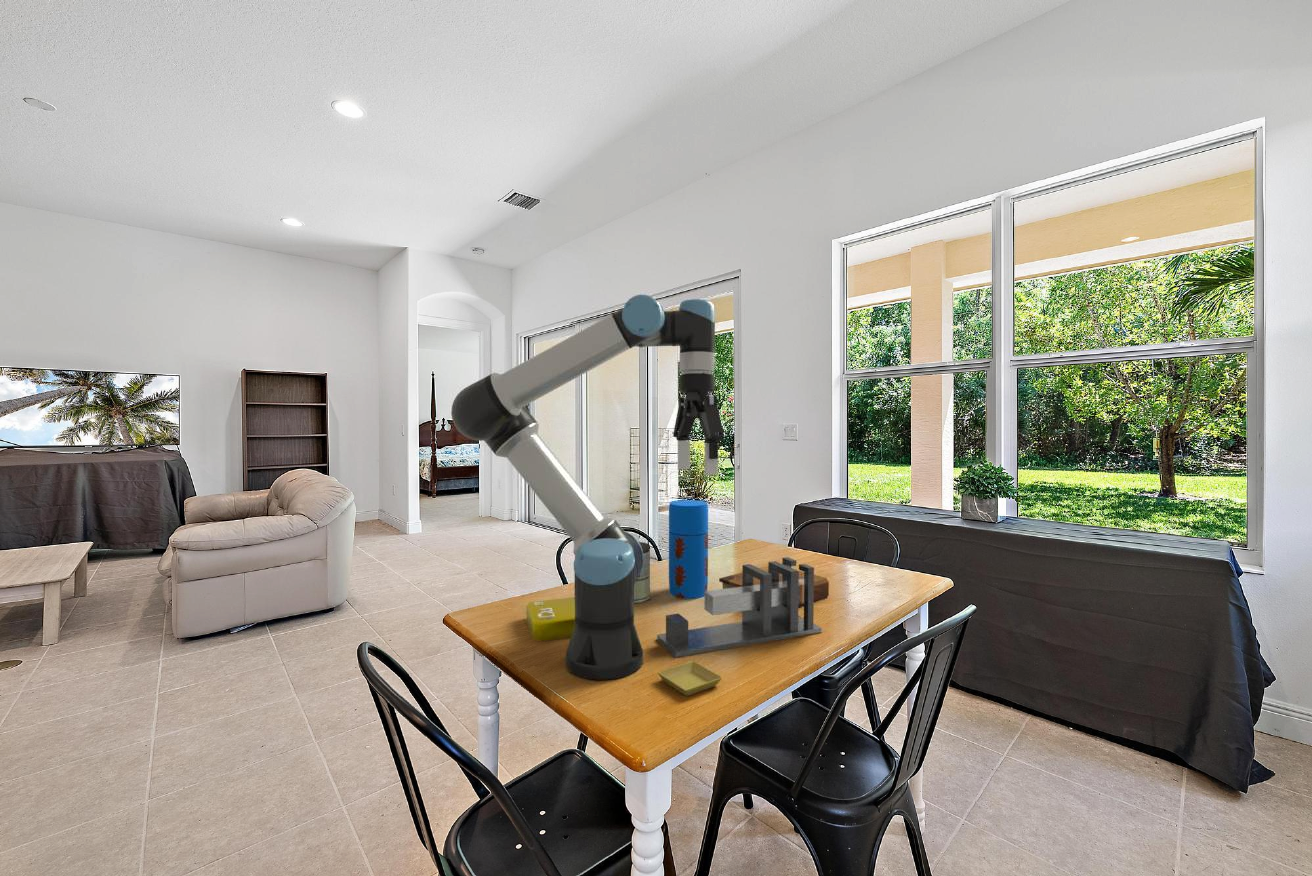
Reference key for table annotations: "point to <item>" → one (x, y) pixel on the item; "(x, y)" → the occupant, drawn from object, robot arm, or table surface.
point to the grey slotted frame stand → (751, 615)
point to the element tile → (551, 618)
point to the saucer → (690, 678)
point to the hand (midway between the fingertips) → (696, 472)
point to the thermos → (688, 548)
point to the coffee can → (643, 577)
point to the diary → (819, 582)
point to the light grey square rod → (746, 598)
